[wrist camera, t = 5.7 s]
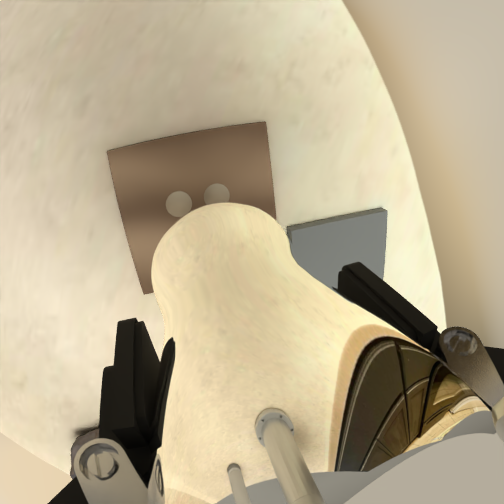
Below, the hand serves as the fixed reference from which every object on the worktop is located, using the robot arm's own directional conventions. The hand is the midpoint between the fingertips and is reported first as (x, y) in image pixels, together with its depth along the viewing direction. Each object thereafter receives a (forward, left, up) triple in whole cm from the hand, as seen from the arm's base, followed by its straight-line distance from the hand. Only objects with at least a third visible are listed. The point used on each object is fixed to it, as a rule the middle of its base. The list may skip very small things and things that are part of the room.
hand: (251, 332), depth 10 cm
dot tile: (+1, 0, -16) cm, 16 cm away
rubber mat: (+9, +12, -16) cm, 22 cm away
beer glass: (0, 0, -4) cm, 4 cm away
